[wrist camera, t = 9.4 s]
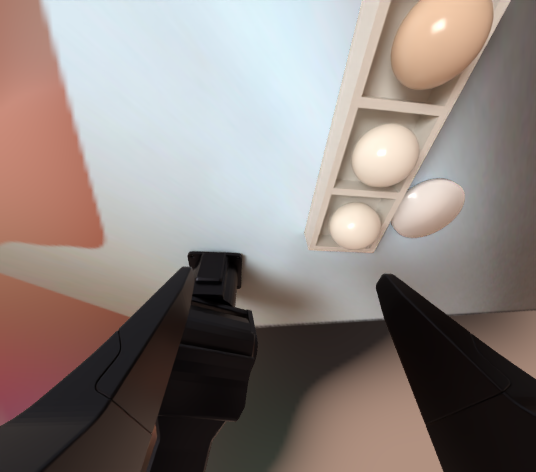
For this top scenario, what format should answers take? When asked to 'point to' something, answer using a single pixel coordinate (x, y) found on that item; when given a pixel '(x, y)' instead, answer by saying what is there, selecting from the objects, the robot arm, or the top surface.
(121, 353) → the robot arm
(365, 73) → the carton
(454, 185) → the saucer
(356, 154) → the cream egg
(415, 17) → the brown egg
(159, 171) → the top surface
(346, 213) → the cream egg
